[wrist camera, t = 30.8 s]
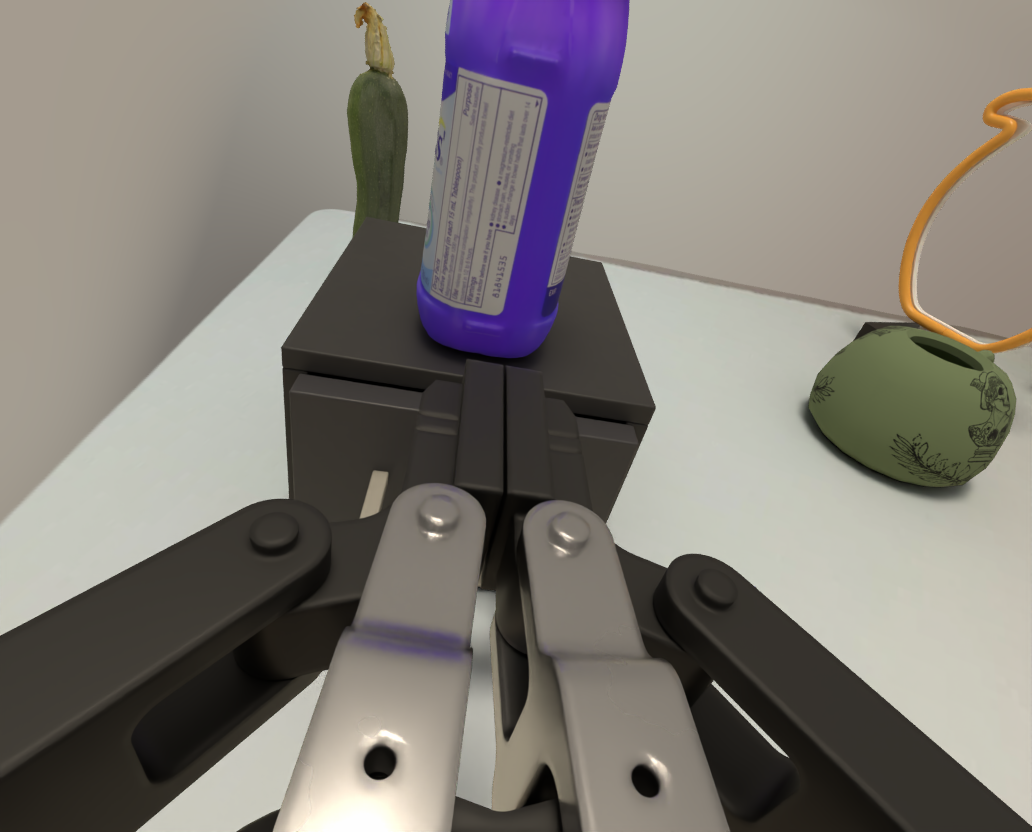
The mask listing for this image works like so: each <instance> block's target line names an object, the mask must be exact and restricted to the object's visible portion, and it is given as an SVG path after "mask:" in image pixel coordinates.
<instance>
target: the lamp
mask: <svg viewBox="0 0 1032 832" xmlns="http://www.w3.org/2000/svg"><path fill="white" fill-rule="evenodd" d="M1029 105H1032V88H1023V89H1017V90H1012V91H1010V92H1007V93H1004V94H1002V95H1000V96H999V97H997V98H996V99H994V100H993V101H991V102H990V103H989V104H988V105H987V107H986V108H985V110H984V113H983V121H984V123H985V124H987V125H988V126H991V127H995V128H1000V129H1002V131H1001V132H1000V133H999V134H998V135H996V136H995V137H993V138H992V139H991V140H989V141H988V142H986V143H985V144H983V145H982V146H981V147H979V148H978V149H977V150H975V151H974V152H973V153H971V154H970V155H969V156H968V157H967V158H965V159H964V160H963V161H962V162H961V163H960V164H959V165H958V166H957V167H955V168H954V169H953V170H952V171H951V172H950V173H949V174H948V175H947V176H946V177H945V178H944V180H943V181H942V182H941V183H940V184H939V185H938V186H937V188H936V189H935V190H934V191H933V193H932V194H931V196H930V197H929V198H928V200H927V201H926V203H925V204H924V206H923V207H922V209H921V210H920V212H919V214H918V216H917V218H916V220H915V222H914V224H913V226H912V228H911V231H910V233H909V236H908V239H907V241H906V244H905V248H904V251H903V256H902V261H901V267H900V274H899V275H900V276H899V298H900V303H901V306H902V309H903V311H904V312H905V314H906V315H907V316H908V317H909V318H910V319H911V320H913V321H914V322H915V323H895V322H865V324H864V325H863V327H862V328H861V330H860V332H859V333H858V335H857V336H856V338H855V339H854V341H855V340H856V339H858V338H860V337H862V336H863V335H865V334H867V333H870V332H872V331H874V330H877V329H881V328H885V327H888V326H904V327H911V328H916V329H921V330H926V331H930V332H934V333H937V334H940V335H943V336H946V337H949V338H951V339H954V340H956V341H958V342H960V343H962V344H965V345H967V346H969V347H970V348H972V349H974V350H976V351H977V352H978V351H982V350H990V351H992V353H993V354H995V353H1003V352H1008V351H1012V350H1016V349H1019V348H1022V347H1025V346H1028V345H1030V344H1032V328H1031V329H1029V330H1027V331H1025V332H1023V333H1020V334H1018V335H1015V336H1013V337H1011V338H1008V339H1005V340H1002V341H999V342H995V343H991V344H985V343H982V342H979V341H977V340H975V339H973V338H971V337H969V336H968V335H966V334H964V333H962V332H960V331H958V330H957V329H955V328H953V327H951V326H949V325H948V324H946V323H944V322H942V321H940V320H938V319H936V318H934V317H933V316H931V315H929V314H928V313H926V312H925V311H923V309H922V308H921V307H920V306H919V304H918V299H917V274H918V266H919V261H920V256H921V252H922V248H923V245H924V242H925V239H926V236H927V234H928V232H929V230H930V228H931V226H932V224H933V222H934V220H935V218H936V216H937V215H938V213H939V211H940V210H941V208H942V207H943V205H944V204H945V203H946V201H947V200H948V199H949V197H950V196H951V195H952V193H953V192H954V191H955V190H956V189H957V188H958V187H959V186H960V185H961V184H962V183H963V181H965V180H966V179H967V178H968V177H969V176H970V175H971V174H972V173H973V172H974V171H976V170H977V169H978V168H979V167H980V166H982V165H983V164H984V163H985V162H987V161H988V160H989V159H991V158H992V157H993V156H995V155H996V154H998V153H999V152H1001V151H1002V150H1003V149H1005V148H1007V147H1008V146H1009V145H1011V144H1013V143H1014V142H1016V141H1017V140H1019V139H1020V138H1022V137H1024V136H1025V135H1027V134H1028V133H1029V132H1031V131H1032V124H1031V123H1030V122H1029V121H1026V120H1024V119H1021V118H1017V117H1014V116H1010V115H1008V113H1009V112H1010V111H1012V110H1015V109H1017V108H1020V107H1024V106H1029Z"/></svg>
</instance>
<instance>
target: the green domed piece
mask: <svg viewBox="0 0 1032 832" xmlns="http://www.w3.org/2000/svg"><path fill="white" fill-rule="evenodd" d="M994 359H995V358H994V354H993V353H992V351H990V350H982V351H978V352H977V351H976V350H974V349H972V348H970V347H969V346H967V345H965V344H962V343H960V342H958V341H956V340H954V339H951V338H949V337H946V336H943V335H940V334H937V333H934V332H930V331H926V330H921V329H916V328H911V327H904V326H888V327H885V328H881V329H877V330H874V331H872V332H870V333H867V334H865V335H863V336H862V337H860V338H858V339H856V340H855V341H853V342H851V343H850V344H849V345H847V346H846V347H845V348H843V349H842V350H841V351H839V352H838V353H837V354H835V356H834V357H833V358H832V359H831V360H830V361H829V362H828V363H827V364H826V365H825V367H824V368H823V369H822V370H821V371H820V372H819V373H818V375H817V377H816V380H815V383H814V386H813V388H812V391H811V394H810V399H809V406H808V407H809V409H810V411H811V413H812V415H813V417H814V419H815V421H816V422H817V424H818V426H819V427H820V429H821V431H822V432H823V434H824V435H825V436H826V437H827V438H828V439H829V440H830V441H832V442H833V443H834V444H835V445H836V446H837V447H838V448H839V449H840V450H841V451H842V452H844V453H846V454H847V455H849V456H850V457H852V458H854V459H855V460H857V461H858V462H860V463H862V464H863V465H865V466H866V467H868V468H870V469H872V470H875V471H877V472H879V473H882V474H884V475H886V476H889V477H891V478H893V479H896V480H899V481H903V482H908V483H912V484H916V485H921V486H932V487H944V486H956V485H963V484H965V483H966V482H967V481H969V480H970V479H972V478H973V477H974V476H976V475H977V474H979V473H980V472H981V471H983V470H984V469H986V468H987V466H988V465H989V464H990V462H991V461H992V460H993V459H994V457H995V456H996V454H997V452H998V451H999V449H1000V447H1001V446H1002V444H1003V442H1004V441H1005V439H1006V437H1007V436H1008V434H1009V432H1010V429H1011V425H1012V422H1013V419H1014V415H1015V407H1016V396H1015V393H1014V389H1013V386H1012V383H1011V381H1010V379H1009V377H1008V376H1007V374H1006V373H1005V372H1004V371H1003V370H1001V369H1000V368H999V367H998V366H996V365H995V364H994V363H993V362H994Z"/></svg>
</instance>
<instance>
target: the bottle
mask: <svg viewBox="0 0 1032 832" xmlns="http://www.w3.org/2000/svg"><path fill="white" fill-rule="evenodd" d="M628 17H629V0H450V5H449V9H448V16H447V24H446V31H445V56H446V63H445V71H444V79H443V91H442V100H441V109H440V119H439V128H438V137H437V145H436V150H435V162H434V170H433V177H432V186H431V194H430V203H429V214H428V221H427V228H426V235H425V242H424V249H423V258H422V266H421V271H420V274H419V277H418V280H417V304H418V310H419V314H420V318H421V321H422V324H423V327H424V328H425V330H426V331H427V333H428V335H429V336H430V337H431V338H432V339H434V340H435V341H436V342H438V343H440V344H442V345H444V346H447V347H450V348H453V349H456V350H461V351H465V352H472V353H479V354H482V355H486V356H491V357H501V358H519V357H524V356H527V355H529V354H531V353H532V352H534V351H535V350H536V349H537V348H538V347H539V346H540V345H541V344H542V342H543V341H544V340H545V338H546V336H547V335H548V333H549V331H550V329H551V327H552V325H553V323H554V320H555V318H556V315H557V311H558V300H559V296H560V293H561V289H562V285H563V281H564V278H565V274H566V270H567V266H568V262H569V258H570V254H571V249H572V245H573V242H574V238H575V234H576V230H577V226H578V222H579V218H580V214H581V211H582V206H583V203H584V199H585V195H586V191H587V187H588V183H589V179H590V176H591V172H592V168H593V164H594V160H595V156H596V153H597V149H598V145H599V142H600V138H601V134H602V131H603V127H604V123H605V120H606V116H607V112H608V109H609V105H610V102H611V98H612V96H613V94H614V92H615V90H616V88H617V85H618V80H619V76H620V72H621V68H622V63H623V58H624V52H625V47H626V39H627V29H628Z"/></svg>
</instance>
